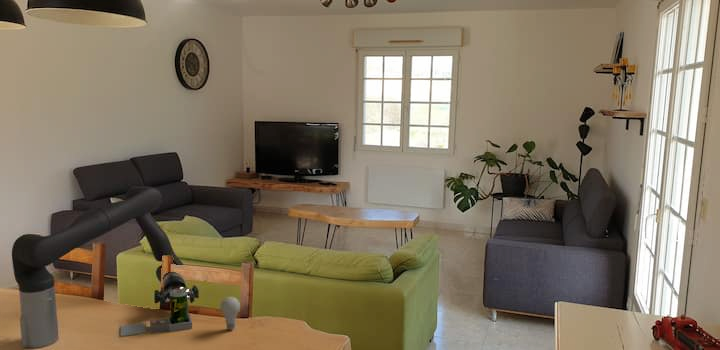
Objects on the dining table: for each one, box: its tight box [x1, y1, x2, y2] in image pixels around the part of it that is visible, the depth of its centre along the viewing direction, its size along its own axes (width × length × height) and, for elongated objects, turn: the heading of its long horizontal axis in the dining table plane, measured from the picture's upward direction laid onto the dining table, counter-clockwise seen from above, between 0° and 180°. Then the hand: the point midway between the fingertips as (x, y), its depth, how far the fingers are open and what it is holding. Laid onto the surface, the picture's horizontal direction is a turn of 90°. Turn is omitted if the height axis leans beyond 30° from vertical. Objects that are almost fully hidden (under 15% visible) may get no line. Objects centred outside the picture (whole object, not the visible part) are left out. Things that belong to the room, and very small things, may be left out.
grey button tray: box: [149, 313, 193, 334], centre depth 179 cm, size 12×7×3 cm, turn 113°
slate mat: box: [120, 322, 148, 338], centre depth 177 cm, size 8×8×1 cm
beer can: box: [169, 288, 189, 324], centre depth 179 cm, size 5×5×12 cm
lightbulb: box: [220, 296, 241, 331], centre depth 177 cm, size 6×6×11 cm
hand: (178, 302), depth 182 cm, fingers open, 8 cm apart
